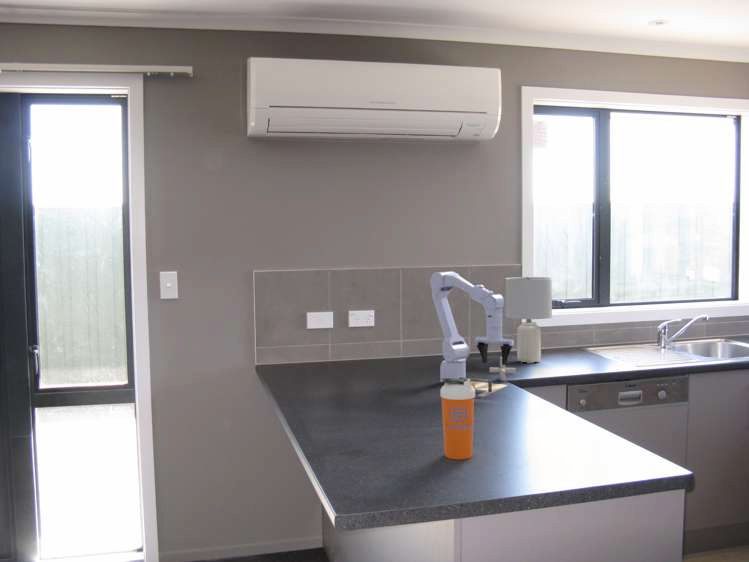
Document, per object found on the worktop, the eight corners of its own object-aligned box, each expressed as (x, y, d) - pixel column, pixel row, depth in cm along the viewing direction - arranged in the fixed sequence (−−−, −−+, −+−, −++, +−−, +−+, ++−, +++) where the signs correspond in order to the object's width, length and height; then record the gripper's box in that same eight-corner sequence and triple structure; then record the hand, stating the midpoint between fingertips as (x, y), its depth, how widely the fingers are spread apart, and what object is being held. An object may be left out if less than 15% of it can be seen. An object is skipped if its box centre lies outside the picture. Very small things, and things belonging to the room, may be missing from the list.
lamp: (501, 359, 329) (500, 276, 327) (542, 357, 331) (542, 275, 329) (514, 366, 309) (513, 278, 307) (558, 364, 311) (558, 277, 309)
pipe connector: (515, 385, 268) (515, 359, 267) (489, 385, 270) (489, 359, 269) (515, 380, 277) (515, 355, 277) (490, 380, 279) (490, 355, 279)
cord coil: (462, 396, 251) (461, 382, 251) (466, 394, 255) (466, 380, 254) (472, 397, 249) (472, 383, 249) (477, 395, 252) (476, 381, 252)
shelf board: (448, 395, 253) (447, 381, 253) (475, 384, 271) (474, 371, 271) (483, 399, 245) (483, 384, 245) (508, 388, 264) (508, 374, 263)
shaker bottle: (438, 451, 186) (437, 376, 185) (471, 449, 187) (470, 375, 185) (444, 461, 177) (443, 383, 176) (479, 460, 178) (478, 381, 177)
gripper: (471, 327, 260) (472, 363, 260) (508, 329, 252) (508, 367, 252) (479, 325, 266) (480, 361, 266) (516, 327, 257) (516, 364, 258)
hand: (494, 363), depth 260 cm, fingers open, 7 cm apart
